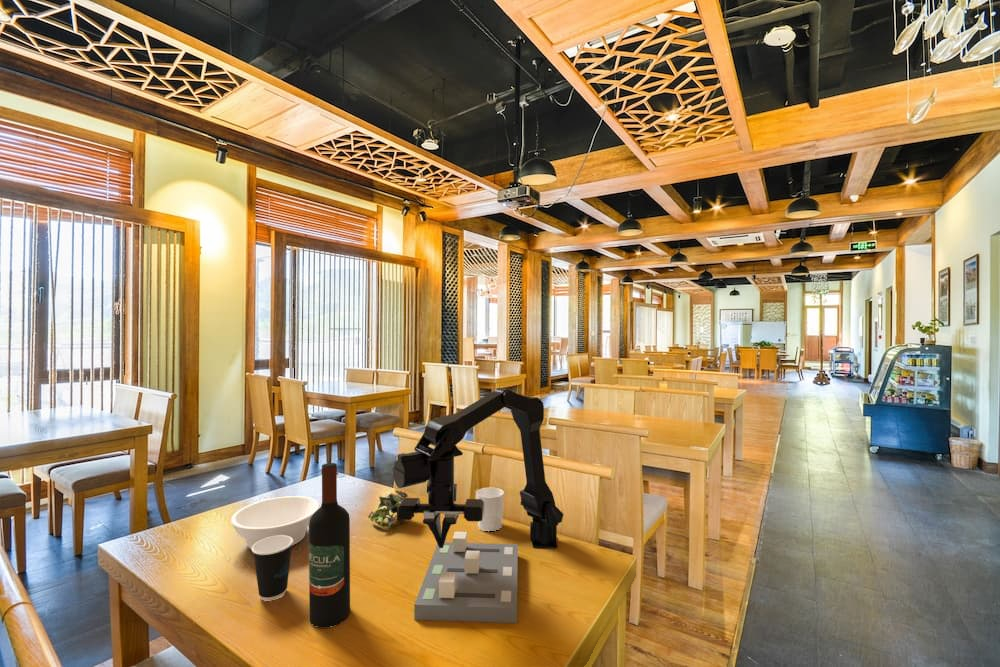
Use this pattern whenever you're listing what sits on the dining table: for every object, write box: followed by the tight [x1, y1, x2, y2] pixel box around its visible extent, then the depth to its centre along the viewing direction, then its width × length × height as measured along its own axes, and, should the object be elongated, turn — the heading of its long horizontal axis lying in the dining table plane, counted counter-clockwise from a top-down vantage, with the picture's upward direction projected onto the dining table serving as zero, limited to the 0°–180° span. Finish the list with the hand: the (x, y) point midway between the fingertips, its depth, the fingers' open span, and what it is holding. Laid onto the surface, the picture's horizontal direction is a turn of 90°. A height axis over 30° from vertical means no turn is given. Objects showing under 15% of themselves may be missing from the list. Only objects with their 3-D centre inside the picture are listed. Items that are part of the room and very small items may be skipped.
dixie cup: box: [251, 535, 293, 601], centre depth 95 cm, size 8×8×11 cm
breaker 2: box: [452, 531, 468, 552], centre depth 108 cm, size 3×4×3 cm
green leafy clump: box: [368, 490, 409, 530], centre depth 128 cm, size 11×11×12 cm
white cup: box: [475, 486, 505, 533], centre depth 127 cm, size 8×8×10 cm
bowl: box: [230, 495, 321, 550], centre depth 119 cm, size 21×21×8 cm
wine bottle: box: [308, 462, 351, 628], centre depth 88 cm, size 8×8×30 cm
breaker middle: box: [465, 551, 480, 573], centre depth 99 cm, size 3×4×3 cm
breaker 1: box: [439, 572, 456, 598], centre depth 90 cm, size 3×4×3 cm
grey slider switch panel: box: [413, 541, 519, 624], centre depth 99 cm, size 20×25×3 cm
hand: (441, 547), depth 99 cm, fingers closed
